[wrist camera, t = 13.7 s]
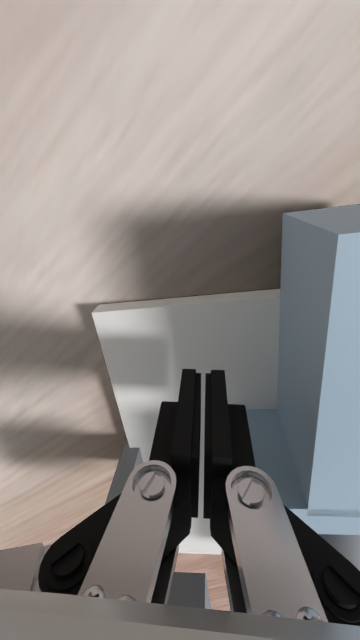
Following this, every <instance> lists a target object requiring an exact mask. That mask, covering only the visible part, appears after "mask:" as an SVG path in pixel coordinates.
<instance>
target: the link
mask: <svg viewBox="0 0 360 640" xmlns="http://www.w3.org/2000/svg"><path fill="white" fill-rule="evenodd" d="M246 413H247V419H248V424H249V430H250V436H251V442H252V448H253V454H254V460H255V466H256V468H258V469H261V470H262V471H264V472H265V473H267V474H268V475H269V476H270V477H271V479H272V480H273V481H274V483H275V485H276V487H277V490H278V492H279V495H280V497H281V500H282V503H283V504H284V505H285V506H286V507H287V508H288V509H290V510H291V511H292V512H293V513H294V514H295V515H296V516H298V517H299V518H300V519H301V520H302V521H303V522H305V523H306V524H307V525H308V526H309V527H310V528H312V529H313V530H314V531H315V532H316V533H317V534H336V535H360V204H356V205H347V206H339V207H330V208H322V209H313V210H305V211H296V212H287V213H283V220H282V254H281V287H280V321H279V354H278V387H277V409H249V410H246Z"/></svg>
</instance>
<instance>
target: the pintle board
mask: <svg viewBox="0 0 360 640" xmlns="http://www.w3.org/2000/svg"><path fill="white" fill-rule="evenodd" d="M92 316H93V320H94V324H95V327H96V331H97V334H98V338H99V341H100V345H101V348H102V352H103V355H104V359H105V362H106V366H107V370H108V373H109V377H110V380H111V384H112V387H113V391H114V394H115V398H116V401H117V405H118V408H119V412H120V416H121V419H122V423H123V426H124V430H125V433H126V440H125V444H124V447H123V450H122V453H121V456H120V459H119V462H118V465H117V469H116V472H115V475H114V478H113V481H112V484H111V487H110V490H109V493H108V497H107V500H106V503H105V504H107V503H108V502H110V501H111V500H112V499H114V498H115V497H116V496H118V495H119V494H121V493H122V491H123V489H124V487H125V484H126V482H127V480H128V477H129V476H130V474H131V472H132V471H133V470H134V469H135V468H136V467H137V466H138V465H140V464H142V463H143V462H146V461H149V458H150V453H151V448H152V444H153V439H154V434H155V430H156V425H157V420H158V415H159V411H160V406H161V402H162V401H168V402H178V398H179V390H180V383H181V376H182V369H196V373H201V433H200V468H199V502H198V518H192V522H191V529H190V534H189V535H188V536H187V537H186V538H185V539H184V540H183V541H182V542H181V543H180V544H179V551H178V553H194V554H221V547H220V546H219V545H218V544H217V542H216V541H215V540H214V539H213V538H212V536H211V530H210V519H205V518H203V508H204V432H205V375H206V373H211V370H225V380H226V391H227V402H228V404H238V405H245V407H246V410H249V409H277V387H278V354H279V321H280V289H271V290H259V291H248V292H236V293H225V294H213V295H202V296H191V297H179V298H168V299H156V300H145V301H133V302H122V303H110V304H99V305H98V306H97V307H96V308H95V309H94V311H93V312H92ZM319 535H320V536H321V537H322V538H323V539H324V540H325V541H327V542H328V543H329V544H330V545H331V546H332V547H334V548H335V549H336V550H337V551H338V552H339V553H341V554H342V555H343V556H344V557H345V558H346V559H348V560H349V561H350V562H351V563H352V564H353V565H354V566H355V567H356V568H357V569H358V570H359V571H360V535H336V534H319ZM167 605H175V606H184V607H193V608H203V609H211V605H210V599H209V593H208V587H207V581H206V576H205V573H183V572H174V575H173V580H172V584H171V589H170V594H169V599H168V603H167Z"/></svg>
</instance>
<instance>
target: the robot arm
mask: <svg viewBox="0 0 360 640" xmlns="http://www.w3.org/2000/svg"><path fill="white" fill-rule="evenodd" d="M200 433H201V373H196V369H182V376H181V383H180V390H179V398H178V402H168V401H162V402H161V406H160V411H159V415H158V420H157V425H156V430H155V434H154V439H153V444H152V448H151V453H150V458H149V461H146V462H143V463H142V464H140V465H138V466H137V467H136V468H135V469H134V470H133V471H132V472H131V474H130V476H129V477H128V480H127V482H126V484H125V487H124V489H123V491H122V493H121V494H119V495H118V496H116V497H115V498H114V499H112V500H111V501H110V502H108V503H107V504H105V505H104V506H103V507H101V508H100V509H99V510H97V511H96V512H94V513H93V514H92V515H90V516H89V517H88V518H86V519H85V520H83V521H82V522H81V523H79V524H78V525H77V526H75V527H74V528H72V529H71V530H70V531H68V532H67V533H66V534H64V535H63V536H61V537H60V538H59V539H58V540H57V541H56V542H54V543H53V544H52V545H47V546H43V544H42V543H37V544H32V545H26V546H21V547H15V548H10V549H4V550H0V640H360V571H359V570H358V569H357V568H356V567H355V566H354V565H353V564H352V563H351V562H350V561H349V560H348V559H346V558H345V557H344V556H343V555H342V554H341V553H339V552H338V551H337V550H336V549H335V548H334V547H332V546H331V545H330V544H329V543H328V542H327V541H325V540H324V539H323V538H322V537H321V536H320V535H319V534H317V533H316V532H315V531H314V530H313V529H312V528H310V527H309V526H308V525H307V524H306V523H305V522H303V521H302V520H301V519H300V518H299V517H298V516H296V515H295V514H294V513H293V512H292V511H291V510H290V509H288V508H287V507H286V506H285V505H284V504H283V503H282V500H281V497H280V495H279V492H278V490H277V487H276V485H275V483H274V481H273V480H272V479H271V477H270V476H269V475H268V474H267V473H265V472H264V471H262V470H261V469H258V468H256V466H255V460H254V454H253V448H252V442H251V436H250V430H249V424H248V419H247V413H246V407H245V405H238V404H228V402H227V391H226V380H225V370H211V373H206V375H205V432H204V508H203V518H205V519H210V530H211V536H212V538H213V539H214V540H215V541H216V542H217V544H218V545H219V546H220V547H221V554H222V560H223V566H224V572H225V578H226V584H227V590H228V597H229V603H230V609H231V612H230V611H221V610H212V609H203V608H193V607H184V606H175V605H167V603H168V599H169V594H170V589H171V584H172V580H173V575H174V570H175V565H176V561H177V556H178V551H179V544H180V543H181V542H182V541H183V540H184V539H185V538H186V537H187V536H188V535H189V534H190V529H191V522H192V518H198V502H199V468H200Z"/></svg>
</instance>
